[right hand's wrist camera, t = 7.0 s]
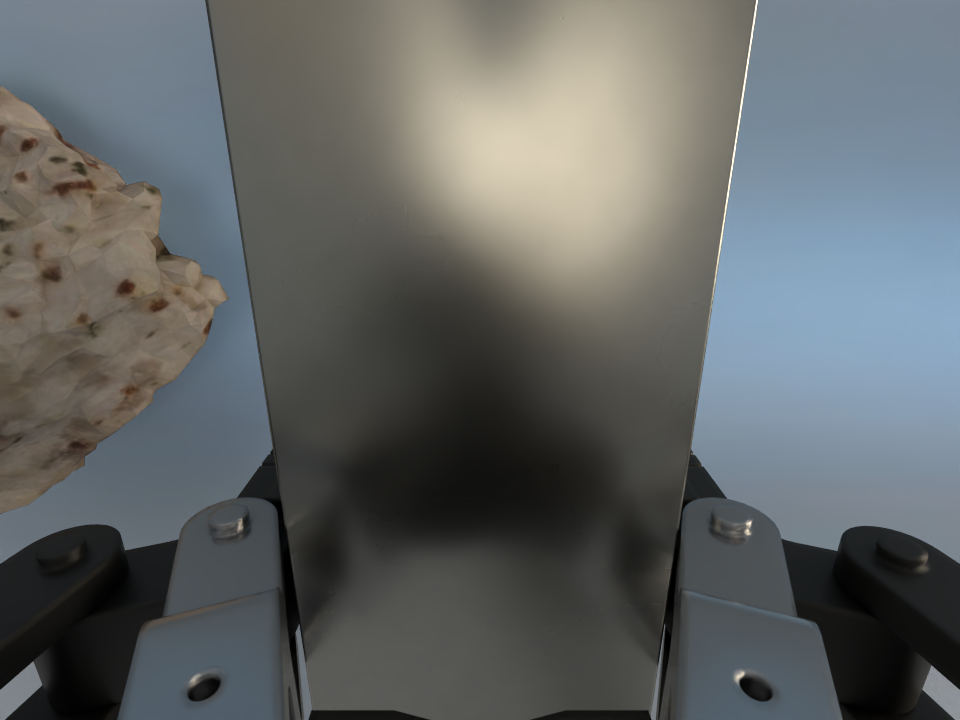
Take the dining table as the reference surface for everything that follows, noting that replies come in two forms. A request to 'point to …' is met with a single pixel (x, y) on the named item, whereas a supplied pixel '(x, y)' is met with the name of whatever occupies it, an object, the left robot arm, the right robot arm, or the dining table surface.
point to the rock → (81, 303)
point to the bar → (481, 328)
